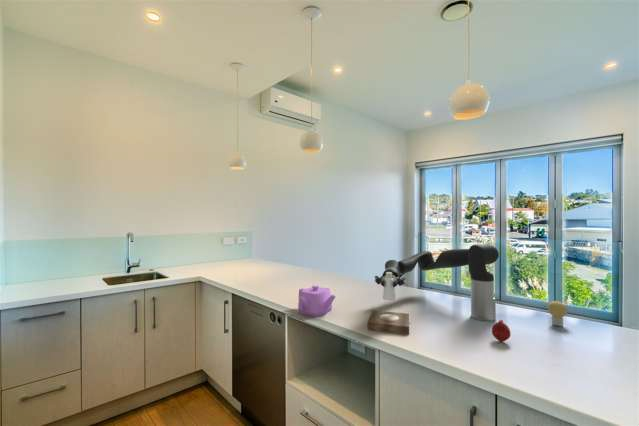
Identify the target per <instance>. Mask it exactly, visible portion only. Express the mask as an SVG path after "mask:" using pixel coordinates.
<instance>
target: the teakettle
mask: <svg viewBox="0 0 639 426" xmlns="http://www.w3.org/2000/svg"><path fill="white" fill-rule="evenodd" d="M335 298H336V295H333V294H332V293H331V289H330V287H320V286H319V285H312V287H311V286H310V287H309V288H299V289H298V302H297V303H298V305H297V308H298V313H299V314H301V315H305V316H310V317H313V318H317V317H318V318H319V317H322V316H324V315H326V314H327V313H330V312H331V311H332V309H333V302H334V300H335Z"/></svg>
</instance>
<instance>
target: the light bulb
mask: <svg viewBox="0 0 639 426" xmlns="http://www.w3.org/2000/svg"><path fill="white" fill-rule="evenodd" d="M547 310H548V313H549V314H550V315H551V324H552V325H554V326H556V327H563V326H564V317H565V316H566V315H567V314H568V308H567V306H566V305H565V303H563V302H561V301H559V300H552V301H550V302H548V304H547Z"/></svg>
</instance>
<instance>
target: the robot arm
mask: <svg viewBox="0 0 639 426" xmlns="http://www.w3.org/2000/svg"><path fill="white" fill-rule="evenodd" d="M499 257H500V254H499V250H498V249H497V248H496V247H495V246H493V245H491V244H487V243H483V244H482V243H479V244H472V245H470V247H469V248H454V249H447V250H444V251H442V252H440V254H439V255H438V256H437V258H436V259H435V260H434V256H433V254H432V252H431V251H429V250H424V251H420V252H417V253H416V254H413V255H411V256H410V257H408V258H405V259H402V260H400V261H397V260H395V259H389V260H387V261H386V262H385V264H384V271H383V272H382V275H381V276H378V275H375V276H374V283H375V284H377V285H380V286H382V287H383V288H384V280H385V278H386V272H391V273H392V278H393V279H394V281H393V287H394V288H395V287H397V286H399V287H402V286H403V285H405V284H406V277H403V276H404V275H405V274H408V273H410V272H412V271H414V269H415V268H416V266H417V265H418V267H419V270H421V271H432V270H438V269H450V268H459V267H465V266H468V272H469V274H470V317H471V318H473V319H476V320H479V321H488V322H491V321H496V320H497V313H496V312H497V310H496V309H497V305H496V302H497V300H496V298H495V284H494V283H495V277H494V274H493V273H492V272H489V271H488V270H487V266H486V265H491V264H495V263H496V262H497V260H498V259H499Z"/></svg>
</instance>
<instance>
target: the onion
mask: <svg viewBox="0 0 639 426" xmlns="http://www.w3.org/2000/svg"><path fill="white" fill-rule="evenodd" d="M491 334H492V335H493V337H494V339H496V340H497V342H500V343H503V342H505V341H507V340H509V339H510V337H511V330H510V328H509V326H508V325H507V324H506V323H504V321H503V320H502V319H499V320H498V321H497V322H496V323H494V324H493V325H492V327H491Z"/></svg>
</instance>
